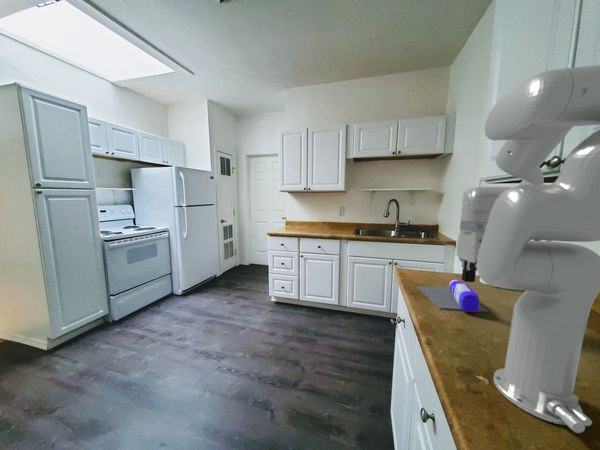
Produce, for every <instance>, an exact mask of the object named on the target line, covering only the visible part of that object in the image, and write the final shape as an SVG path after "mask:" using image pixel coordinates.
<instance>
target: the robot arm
mask: <svg viewBox="0 0 600 450" xmlns="http://www.w3.org/2000/svg"><path fill="white" fill-rule="evenodd" d="M583 126H584V127H585V126H600V64H598V65H586V66H578V67H568V68H567V67H566V68H558V69H551V70H547V71H543V72H540V73H537V74H534V75H533V76H531V77H530V78H528V79H527V80H525V81H524V82H522V83H520V84H519V85H518V86H517V87H515V88H514V89H512V90H511V91H509V92H508V93H506V94H505V95H504V96H503V97H502V98H500V99H499V101H497V102H496V103H495V104H494V105H493V107H492V108H491V110H490V111H489V113H488V115H487V117H486V120H485V122H484V134H485V136H486V138H487V139H489V140H490V141H505V142H504V143H503V145H502V147H501V148H500V150H499V151H498V153H497V155H496V157H495V164H496V166H497V167H498V168H499V169H500V170H501V171H502V172H504V173H506V174H508V175H510V176H514V177H515V178H518V179H520V180H522V181H520V183H519V184H518V185H516V186H515V185H514V186H478V187H473V188H468V189H466V190H464V191H463V197H462V203H461V204H462V207H461V215H460V223H459V225H460V226H459V234H458V237H457V245H456V256H457V258H458V260H459V261H460V262H461V268H462V271H461V272H462V274H461V280H462V281H463V282H465V283H474V282H475V280H476V272H477V273H478V276H479V279H480V278H481V279H482V280H483V281H484V282H485V283H487V284H489V285H491V286H495V287H500V288H499V289H509V290H517V291H518V290H519V291H524V292H523V293H522V294H521V295H520V296H519V297H518V299H517V300H516V302H515V304H514V306H513V310H512V316H511V322H510V323H511V324H510V331H509V337H508V343H507V350H506V357H505V365H504V367H503V368H502V367H501V368H499V369H497V370H495V371H494V373H493V379H492V380H493V383H494V385H495V387H496V389H497V390H498V391H499V392H500V394H501V395H503V396H504V397H505V398H506V399H507V400H509V401H510V402H511V403H512V404H514V405H516V406H517V407H518V408H519V409H521V410H523V411H525V412H526V413H529V414H530V415H532V416H535V417H536V418H539V419H541V420H544V421H547V422H550V423H552V422H553V423H552V424H557V425H562V426H567V427H568V428H569V429H570V430H571V431H573V432H574V433H576V434H581V433H584V432H585V430H586V427H590V426H591V425H592V424H593V421H592V420H591V419H590V418H589V417H588V416H587V415H585V413H583V410H582V407H581V406H580V404H579V400H580V398H579V397H578V396H577V395H576V394H574V389H575V385H576V384H575V383H576V378H577V373H578V369H579V362H580V359H581V353H582V352H581V351H582V347H583V343H584V337H585V333H586V327H587V324H588V320H589V319H588V318H589V317H590V313H591V310H592V306H593V304H594V302H595V300H596V298H597V296H598V294H599V293H600V255H599V254H598V253H597V252H595V251H594V250H592V249H590V248H588V247H587V246H583V245H579V244H576V243H577V242H578V243H581V242H583V243H587V242H589V243H590V242H599V241H600V128H599V129H597V130H596V131H594V132H593V133H591V134H590V135H589V136H587V137H586V138H584V139H583V141H581V142H580V143H579V144H578V145H577V146H575V148H573V149H572V150H571V151H570V153H568V155H567V156H566V158H565V160H564V162H563V165H562V168H561V170H560V173H559V174H558V176H557V179H556V180H555V181H554V182H553V183H551V184H544V183H545V182H544V180H545V178H544V177H545V176H544V173H543V170H542V169H541V167H540V166H541V165H542V164H543V163H544V162H545V161H546V160H547V158H548V157H549V156H550V155H551V154H552V153H553V151H554V150H555V149H556V148H557V146H558V145H559V144H560V143H561V142H562V141H563V139H564V138H565V137H566V136H567V135H568V133H570V131H571V130H572V129H573V128H574V127H583ZM569 242H570V243H569ZM571 242H573V243H571ZM574 242H575V243H574Z"/></svg>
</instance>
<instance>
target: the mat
mask: <svg viewBox="0 0 600 450" xmlns="http://www.w3.org/2000/svg"><path fill="white" fill-rule="evenodd" d="M416 288H417V289H418V290H419V291H421V293H422V294H423V295H425V297H426V298H427V299H429V300H430V302H431V303H433V305H435V306H436V308H437V309H439V310H445V311H448V310H449V311H460V312H462V311H463V312H465V311H464V310H462V309H461V307H460V306H459V304H458V303H457V302H456V300H455V299H454V297H453V295H452V292H451V290H450V286H449V287H448V286H447V287H446V286H445V287H444V286H430V285H429V286H426V285H417V286H416ZM476 312H477V313H479V312H480V313H488V312H489V310H488V309H487V308H485V307H484V306H482V305H481V304H479V308H478V310H477V311H476Z"/></svg>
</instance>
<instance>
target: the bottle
mask: <svg viewBox="0 0 600 450" xmlns="http://www.w3.org/2000/svg"><path fill="white" fill-rule="evenodd" d="M449 287H450V290H451V292H452V295H453V297H454V299H455V300H456V302H457V303H458V304H459V306H460V307H461V309H462V310H464V311H463V312H469V313H475V312H477V310H478V308H479V305H480V298H479V295H478V294H477V292H475V290H474V289H473V288H471V287H470V285H468V284H467V283H466V282H465V283H464V282H462V281H459V280H458V279H453V280H451V281H450V282H449Z"/></svg>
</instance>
